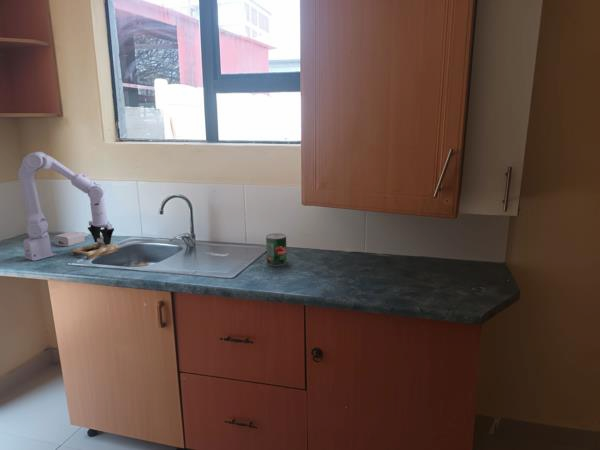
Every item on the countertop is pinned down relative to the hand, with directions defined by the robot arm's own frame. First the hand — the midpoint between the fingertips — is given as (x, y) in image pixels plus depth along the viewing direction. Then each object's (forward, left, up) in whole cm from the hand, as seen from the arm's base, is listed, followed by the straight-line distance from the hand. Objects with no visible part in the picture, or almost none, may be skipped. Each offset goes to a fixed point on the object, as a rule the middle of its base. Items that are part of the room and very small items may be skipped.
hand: (102, 243), depth 195 cm
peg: (0, 0, -4) cm, 4 cm away
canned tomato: (+25, -77, -4) cm, 81 cm away
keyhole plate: (-4, 0, -3) cm, 5 cm away
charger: (+2, +26, -4) cm, 27 cm away
